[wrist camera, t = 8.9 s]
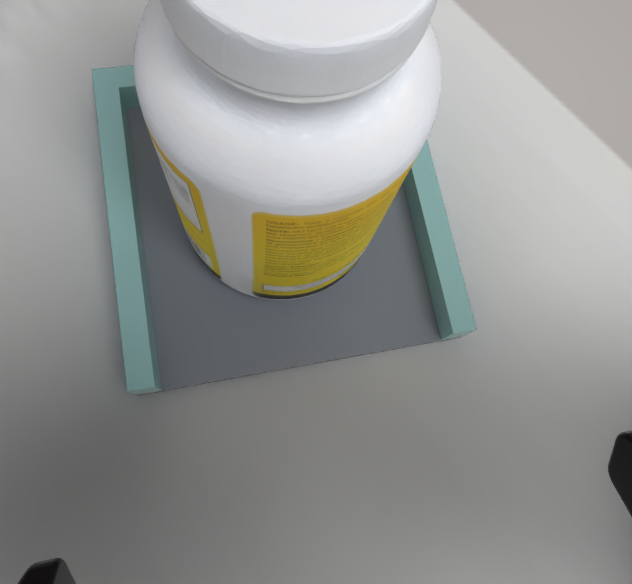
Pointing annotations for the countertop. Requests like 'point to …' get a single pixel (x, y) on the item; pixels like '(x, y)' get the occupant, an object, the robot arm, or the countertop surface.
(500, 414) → the countertop surface
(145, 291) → the dock
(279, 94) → the pill bottle
